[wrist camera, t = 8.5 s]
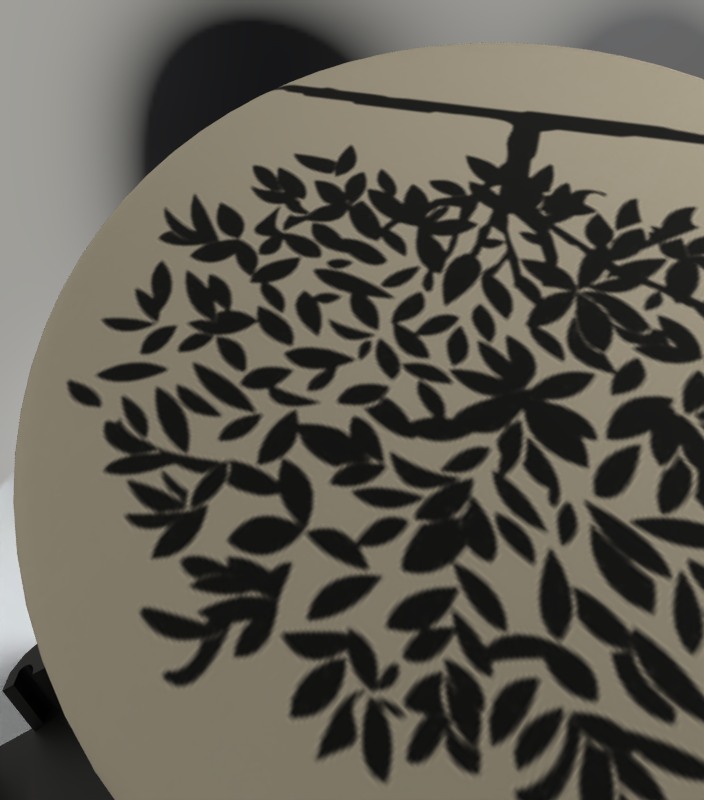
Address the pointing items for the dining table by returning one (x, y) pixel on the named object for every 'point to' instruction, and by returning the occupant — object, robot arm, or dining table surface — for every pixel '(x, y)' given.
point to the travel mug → (387, 443)
